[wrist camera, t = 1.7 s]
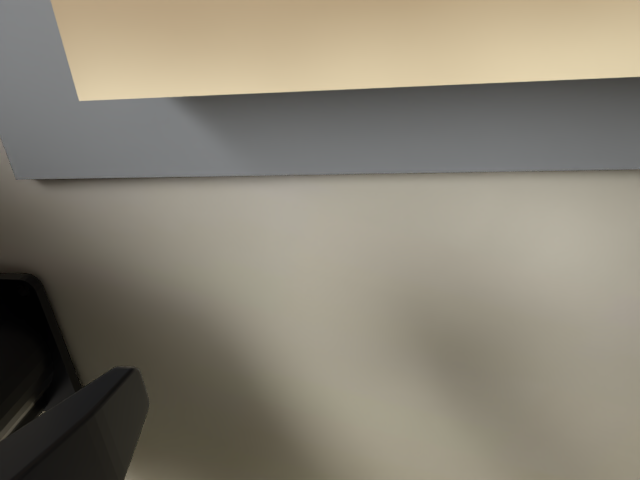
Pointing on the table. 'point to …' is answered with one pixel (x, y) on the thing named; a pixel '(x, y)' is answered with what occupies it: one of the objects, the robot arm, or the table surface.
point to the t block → (338, 44)
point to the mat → (299, 123)
